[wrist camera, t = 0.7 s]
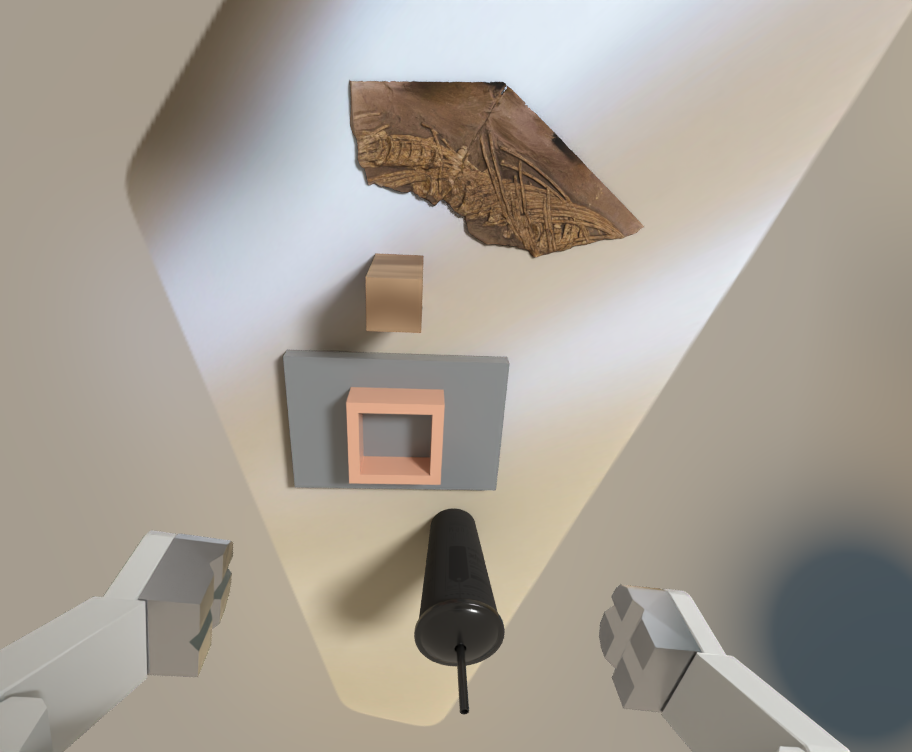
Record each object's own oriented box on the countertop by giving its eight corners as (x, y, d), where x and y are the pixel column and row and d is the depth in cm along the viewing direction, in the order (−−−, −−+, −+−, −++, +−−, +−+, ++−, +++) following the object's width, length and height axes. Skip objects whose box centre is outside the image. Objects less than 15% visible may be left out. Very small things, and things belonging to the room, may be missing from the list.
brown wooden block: (375, 253, 44) (365, 277, 37) (423, 255, 44) (422, 279, 37) (376, 299, 46) (366, 330, 38) (422, 301, 46) (421, 332, 39)
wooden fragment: (321, 159, 41) (319, 160, 40) (377, 8, 37) (375, 5, 36) (595, 297, 47) (599, 301, 46) (668, 180, 43) (673, 182, 42)
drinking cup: (402, 525, 56) (390, 712, 38) (455, 485, 54) (469, 661, 36) (450, 564, 59) (459, 756, 41) (502, 527, 57) (537, 710, 39)
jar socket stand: (287, 349, 47) (273, 370, 43) (507, 357, 48) (514, 377, 44) (298, 478, 53) (287, 507, 49) (494, 481, 54) (499, 509, 50)
